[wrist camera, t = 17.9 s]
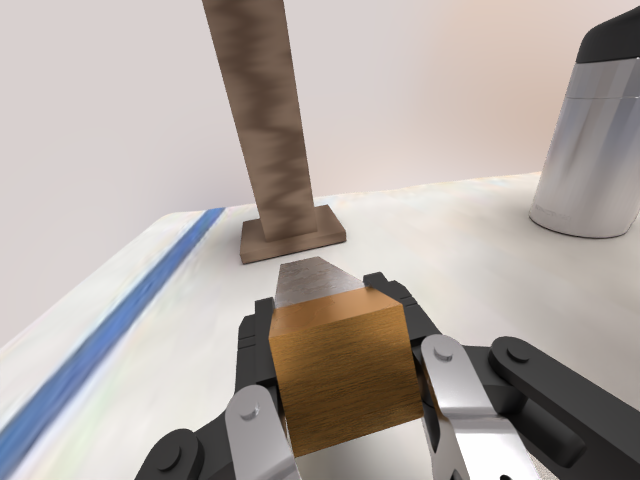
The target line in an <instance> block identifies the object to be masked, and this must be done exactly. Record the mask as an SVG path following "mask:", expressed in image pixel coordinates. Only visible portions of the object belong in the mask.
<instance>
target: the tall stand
mask: <svg viewBox="0 0 640 480" xmlns="http://www.w3.org/2000/svg"><path fill="white" fill-rule="evenodd" d="M202 2H203V6H204V10H205V14H206V17H207V21H208V25H209V28H210V32H211V36H212V40H213V44H214V47H215V51H216V55H217V58H218V62H219V66H220V70H221V73H222V77H223V81H224V84H225V88H226V92H227V96H228V99H229V103H230V107H231V111H232V114H233V118H234V122H235V125H236V129H237V133H238V137H239V141H240V144H241V148H242V152H243V156H244V159H245V163H246V167H247V170H248V174H249V178H250V182H251V185H252V189H253V193H254V197H255V200H256V204H257V208H258V212H259V215H260V218H259V219H255V220H250V221H245V222H243V227H242V237H241V247H240V256H241V259H242V262H243V264H245V263H249V262H253V261H258V260H262V259H267V258H271V257H276V256H280V255H285V254H289V253H293V252H298V251H302V250H307V249H311V248H316V247H320V246H325V245H329V244H334V243H338V242H342V241H346V231H345V229H344V228H343V226H342V225H341V223H340V222H339V220H338V219H337V218H336V216H335V215H334V213H333V212H332V210H331V209H330V207H329V206H328V205H323V206H318V207H314V203H313V196H312V189H311V183H310V176H309V169H308V163H307V156H306V149H305V143H304V136H303V129H302V122H301V116H300V109H299V102H298V96H297V89H296V83H295V76H294V69H293V63H292V56H291V49H290V42H289V36H288V29H287V22H286V16H285V9H284V2H283V0H202Z"/></svg>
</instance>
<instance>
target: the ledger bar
mask: <svg viewBox="0 0 640 480" xmlns="http://www.w3.org/2000/svg"><path fill="white" fill-rule="evenodd" d="M269 343H270V348H271V352H272V357H273V361H274V366H275V371H276V375H277V380H278V384H279V389H280V394H281V398H282V403H283V407H284V412H285V417H286V421H287V426H288V430H289V435H290V439H291V444H292V449H293V453H294V458H296V457H299V456H303V455H306V454H309V453H312V452H315V451H318V450H321V449H324V448H328V447H331V446H334V445H337V444H340V443H343V442H346V441H350V440H353V439H356V438H359V437H362V436H365V435H368V434H371V433H375V432H378V431H381V430H384V429H387V428H390V427H393V426H397V425H400V424H403V423H406V422H409V421H412V420H415V419H418V418H422V417H423V415H424V411H423V406H422V401H421V396H420V391H419V386H418V381H417V376H416V371H415V365H414V360H413V355H412V350H411V345H410V340H409V335H408V330H407V325H406V320H405V315H404V310H403V305H402V304H401V303H399V302H398V301H396V300H394V299H392V298H390V297H389V296H387V295H385V294H383V293H382V292H380V291H378V290H376V289H373V288H372V287H370V286H368V285H366V284H365V283H363V282H362V281H360V280H359V279H357V278H355V277H353V276H352V275H350V274H348V273H346V272H345V271H343V270H341V269H339V268H338V267H336V266H334V265H332V264H330V263H329V262H327V261H325V260H323V259H322V258H320V257H318V256H317V257H313V258H308V259H304V260H299V261H295V262H290V263H286V264H281V265H280V271H279V277H278V283H277V289H276V295H275V307H274V314H272V320H271V326H270V332H269Z"/></svg>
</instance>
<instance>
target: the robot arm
mask: <svg viewBox="0 0 640 480" xmlns="http://www.w3.org/2000/svg"><path fill="white" fill-rule="evenodd" d="M639 211H640V6H638V7H636V8H634V9H632V10H630V11H628V12H626V13H624V14H621V15H619V16H617V17H615V18H613V19H610V20H608V21H606V22H603V23H602V24H600V25H597V26H595V27H594V28H592V29H591V30H590V31H589V32H588V33H587V34H586V35H585V37H584V38H583V40H582V43H581V46H580V48H579V52H578V55H577V59H576V64H575V65H574V68H573V72H572V75H571V78H570V82H569V85H568V88H567V92H566V94H565V98H564V102H563V105H562V108H561V111H560V115H559V118H558V121H557V125H556V128H555V131H554V134H553V138H552V141H551V144H550V148H549V151H548V154H547V157H546V161H545V164H544V168H543V171H542V174H541V177H540V180H539V184H538V187H537V190H536V193H535V197H534V200H533V203H532V207H531V210H530V213H529V214H530V217H531V219H532V220H533V221H535V222H536V223H537V224H539V225H541V226H543V227H546V228H548V229H551V230H554V231H557V232H561V233H565V234H570V235H575V236H582V237H595V238H599V237H614V236H618V235H622V234H624V233H626V232H627V230H628V229H629V227H630V225H631V223H632V222H634V221H635V219H636V217H637V215H638V213H639ZM363 283H365V284H366V285H368V286H370V287H372V288H373V289H376V290H378V291H380V292H382V293H383V294H385V295H387V296H389V297H390V298H392V299H394V300H396V301H398V302H399V303H401V304H402V305H403V310H404V315H405V320H406V325H407V330H408V335H409V340H410V345H411V350H412V355H413V360H414V365H415V371H416V376H417V381H418V386H419V391H420V396H421V401H422V406H423V411H424V415H423V417H422V418H421V420H422V424H423V428H424V432H425V436H426V440H427V444H428V448H429V451H430V456H431V462H432V474H433V480H542V479H541V477H540V475H539V473H538V472H537V470H536V468H535V466H534V464H533V462H532V460H531V458H530V456H529V454H528V452H527V451H529V452H530V453H531V454H532V455H533V456H534V457H535V458H536V459H537V460H539V461H540V462H541V463H542V464H543V465H544V466H545V467H546V468H547V469H549V470H550V471H551V472H552V473H553V474H554V475H555V476H556V477H557V478H559V479H560V480H640V412H639V411H638V410H636V409H634V408H633V407H631V406H629V405H628V404H626V403H625V402H623V401H621V400H620V399H618V398H616V397H615V396H613V395H612V394H610V393H608V392H607V391H605V390H604V389H602V388H600V387H599V386H597V385H595V384H594V383H592V382H591V381H589V380H587V379H586V378H584V377H582V376H581V375H579V374H578V373H576V372H574V371H573V370H571V369H570V368H568V367H566V366H565V365H563V364H561V363H560V362H558V361H557V360H555V359H553V358H552V357H550V356H548V355H547V354H545V353H544V352H542V351H540V350H539V349H537V348H536V347H534V346H532V345H531V344H529V343H527V342H525V341H523V340H521V339H518V338H515V337H508V336H504V337H499V338H497V339H495V340H494V341H493V343H492V346H491V347H480V346H465V345H461V344H460V343H459V342H457V341H456V340H455V339H453V338H451V337H448V336H445V335H443V334H442V333H441V332H440V331H439V330H438V329H437V327H436V326H435V325H434V323H433V322H432V321H431V320H430V318H429V317H428V316H427V314H426V313H425V312H424V311H423V309H422V308H421V307H420V305H418V303H417V301H416V300H415V299H414V298H413V297H412V295H411V294H410V292H409V291H408V290H407V289H406V287H405V286H403V285H401V284H400V283H398V282H397V281H395V280H394V281H390V282H388V281H387V279H386V278H385V277H384V275H383V274H382V273H381V272H377V273H372V274H368V275H364V277H363ZM274 307H275V302H274V299H273V297H270V298H266V299H261V300H257V301H255V314H253V315H249V316H245V317H244V319H243V321H242V322H241V324H240V326H239V333H238V351H237V366H236V382H235V392H234V396H233V397H232V399H231V400H230V402H229V403H228V406H227V408H226V409H225V411H224V412H223V413H222V414H221V415H219V416H218V417H217V418H216V419H214V420H213V421H211V422H210V423H208V424H206V425H205V426H203V427H202V428H200V429H199V430H197V431H196V432H194V433H193V432H192V431H191V430H189V429H177V430H174V431H172V432H170V433H168V434H167V435H165V436H164V437H162V438H161V439H160V440H159V441H158V442H157V443H156V444H155V445H154V447H153V448H152V449H151V451H150V452H149V454H148V455H147V457H146V459H145V461H144V463H143V465H142V466H141V468H140V470H139V472H138V474H137V476H136V478H135V479H134V480H302V478H301V475H300V473H299V470H298V467H297V464H296V462H295V459H294V456H293V453H292V450H291V448H290V445H289V442H288V439H287V430H286V420H285V412H284V407H283V403H282V398H281V394H280V389H279V384H278V380H277V375H276V371H275V366H274V361H273V357H272V352H271V348H270V343H269V332H270V326H271V320H272V314H274Z"/></svg>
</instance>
